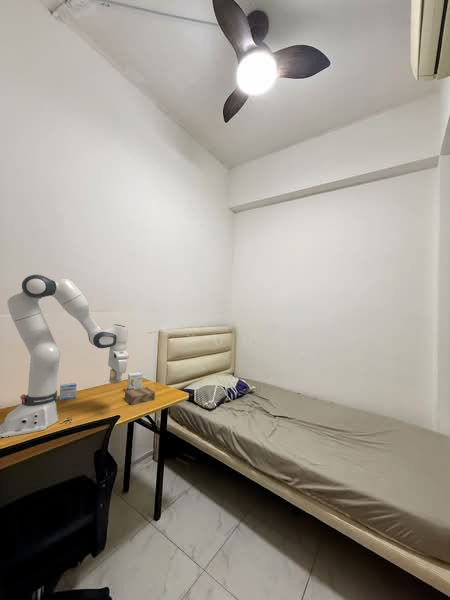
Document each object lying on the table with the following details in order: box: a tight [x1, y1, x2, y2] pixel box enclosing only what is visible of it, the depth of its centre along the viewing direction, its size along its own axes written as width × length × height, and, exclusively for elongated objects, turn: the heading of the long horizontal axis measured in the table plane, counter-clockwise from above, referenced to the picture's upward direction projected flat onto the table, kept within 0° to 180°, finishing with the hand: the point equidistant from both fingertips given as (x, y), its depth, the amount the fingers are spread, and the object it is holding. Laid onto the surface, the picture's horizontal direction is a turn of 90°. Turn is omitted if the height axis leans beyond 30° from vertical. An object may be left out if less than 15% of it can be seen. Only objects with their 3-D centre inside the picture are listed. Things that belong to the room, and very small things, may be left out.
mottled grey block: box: [108, 368, 123, 385], centre depth 134 cm, size 5×5×7 cm
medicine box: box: [59, 382, 77, 402], centre depth 144 cm, size 8×4×9 cm, turn 131°
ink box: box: [126, 371, 143, 391], centre depth 161 cm, size 9×5×12 cm, turn 126°
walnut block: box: [124, 386, 156, 406], centre depth 147 cm, size 14×12×5 cm
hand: (115, 377), depth 134 cm, fingers closed on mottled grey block, 5 cm apart
